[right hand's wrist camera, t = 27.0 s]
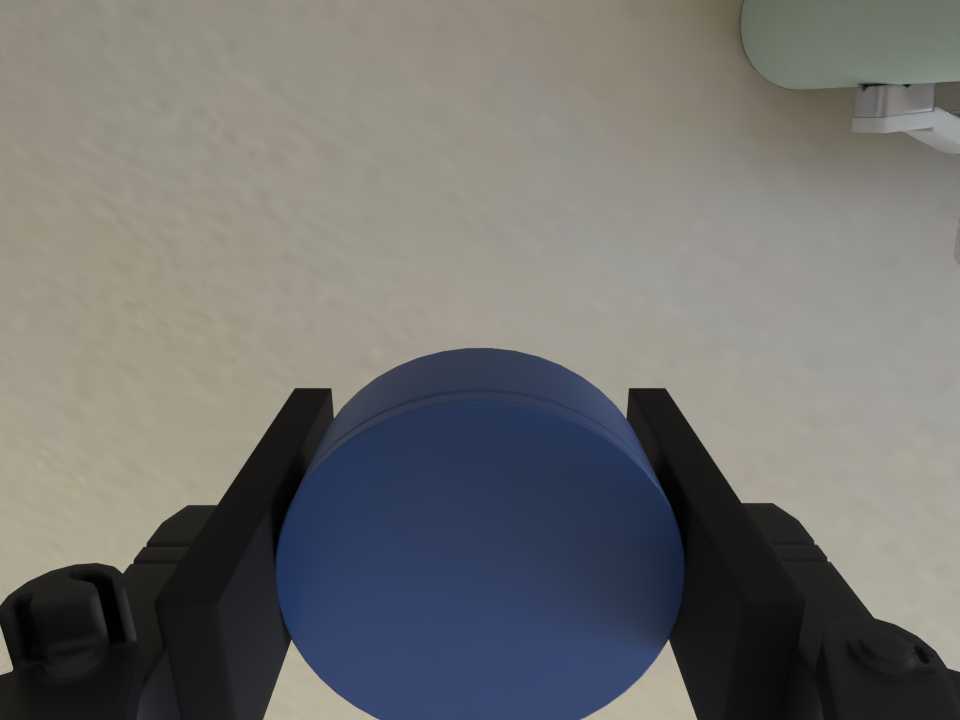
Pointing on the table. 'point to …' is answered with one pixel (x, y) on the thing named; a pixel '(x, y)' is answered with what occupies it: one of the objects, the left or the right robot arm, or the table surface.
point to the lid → (480, 545)
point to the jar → (852, 41)
